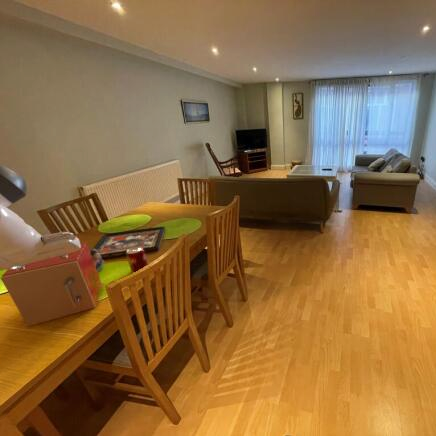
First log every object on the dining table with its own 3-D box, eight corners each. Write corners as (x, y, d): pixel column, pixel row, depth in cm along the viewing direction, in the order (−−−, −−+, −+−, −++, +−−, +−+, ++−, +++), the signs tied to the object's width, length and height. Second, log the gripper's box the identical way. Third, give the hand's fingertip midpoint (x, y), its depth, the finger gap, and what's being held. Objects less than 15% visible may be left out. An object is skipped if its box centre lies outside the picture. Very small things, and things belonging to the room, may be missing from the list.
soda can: (134, 277, 113) (128, 255, 109) (130, 271, 118) (123, 250, 113) (151, 270, 118) (145, 249, 114) (146, 265, 123) (140, 244, 118)
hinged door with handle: (92, 316, 91) (72, 269, 83) (21, 337, 82) (-9, 287, 74) (95, 306, 96) (77, 260, 88) (28, 325, 87) (1, 276, 79)
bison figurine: (96, 277, 114) (89, 259, 110) (79, 279, 112) (71, 261, 108) (108, 263, 124) (102, 246, 120) (92, 265, 123) (85, 248, 119)
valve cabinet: (95, 306, 96) (77, 260, 88) (29, 324, 87) (1, 275, 79) (102, 283, 109) (86, 242, 101) (44, 298, 100) (22, 253, 92)
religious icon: (165, 226, 167) (164, 223, 166) (165, 249, 138) (164, 245, 137) (98, 238, 151) (97, 234, 150) (83, 266, 122) (81, 261, 121)
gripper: (69, 221, 66) (86, 241, 77) (-46, 245, 55) (-7, 264, 66) (73, 241, 64) (89, 259, 75) (-45, 269, 53) (-5, 285, 65)
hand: (43, 261), depth 71 cm, fingers open, 8 cm apart
